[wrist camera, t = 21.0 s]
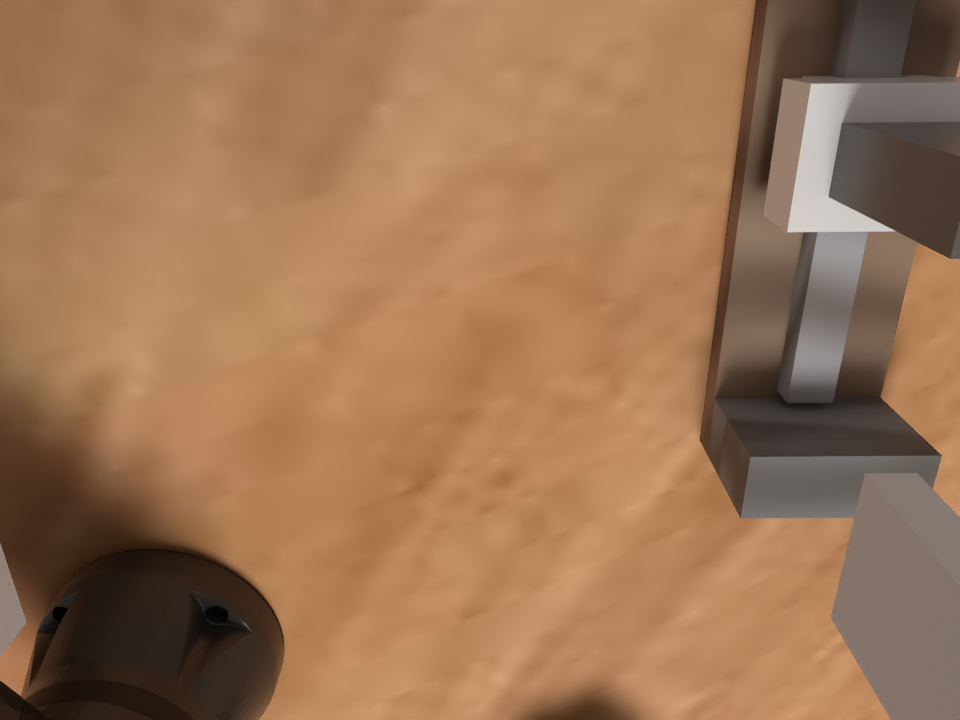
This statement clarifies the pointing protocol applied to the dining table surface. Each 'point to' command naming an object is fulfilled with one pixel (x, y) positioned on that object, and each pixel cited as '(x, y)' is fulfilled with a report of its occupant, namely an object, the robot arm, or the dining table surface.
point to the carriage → (869, 158)
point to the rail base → (776, 248)
